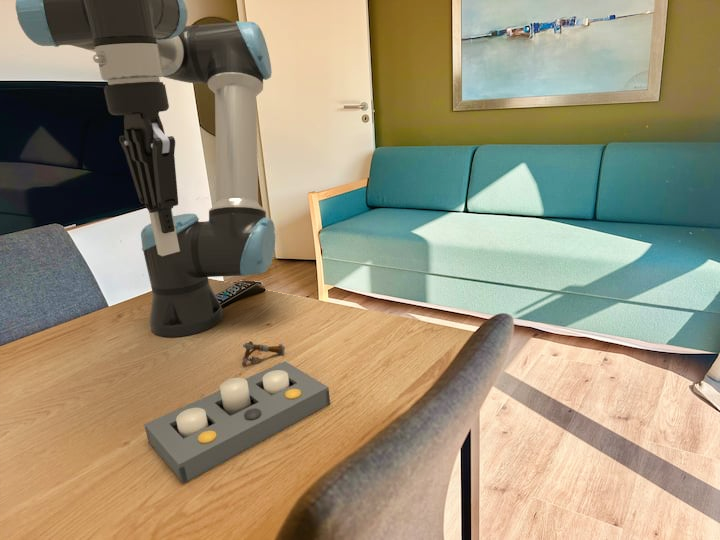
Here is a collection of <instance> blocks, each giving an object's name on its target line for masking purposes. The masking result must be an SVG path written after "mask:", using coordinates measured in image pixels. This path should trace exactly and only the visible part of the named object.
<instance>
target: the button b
mask: <svg viewBox="0 0 720 540" xmlns="http://www.w3.org/2000/svg"><path fill="white" fill-rule="evenodd" d="M219 390H220V391H221V397H222V402H223V408H224V409H223V410H224V411H225V412H226V413H227V414H228V415H229V416H231V415H233V414H235V413H237V412H239V411H241V410H243V409H245V408H247V407H249V406H251V405H252V403H251V402H252V401H251V398H250V395H249V389H248V383H247V380H246V378H243V377H233V378H228V379H226V380H225V381H223V382H222V383H221V384H220V385H219Z"/></svg>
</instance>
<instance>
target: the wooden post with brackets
mask: <svg viewBox="0 0 720 540" xmlns="http://www.w3.org/2000/svg"><path fill="white" fill-rule="evenodd" d="M242 347H243V348H244V349H246V350H245V353H244V356H242V360H241V365H242V366H243V367H244V366H246V365H247V362H250V363H252V364H253V365H254V364H259V363H260V362H262V358H260V357H258V356H257V357H255V356H253V355H252V356H251V354H253V353H254V352H255V351H259V352H264V353H265V352H266V353H268V352H271V353H275V354H278V355H279V356H281V357H283V356H284V354H285V349H286V347H285V345H284V344H282V343H280V344H279V345H278V346H277V345H275V346H274V345H273V346H268V345H265V344H254V342H253V341H251V340H250V341H249V342H245V343H243V344H242ZM250 356H251V357H250ZM249 357H250V358H249Z"/></svg>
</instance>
